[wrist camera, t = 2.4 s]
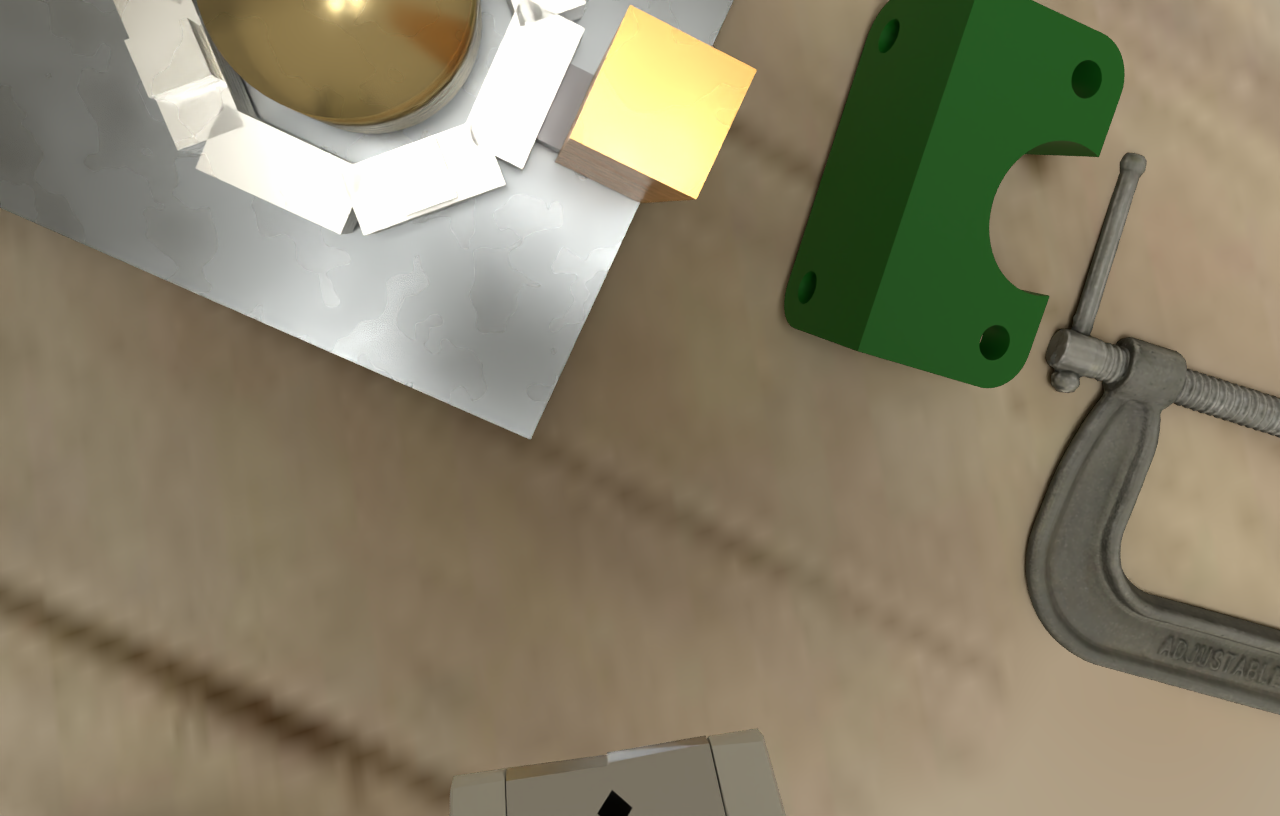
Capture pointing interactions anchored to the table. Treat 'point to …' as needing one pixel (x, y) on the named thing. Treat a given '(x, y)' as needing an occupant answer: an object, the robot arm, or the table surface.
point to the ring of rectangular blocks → (496, 128)
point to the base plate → (353, 129)
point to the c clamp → (1106, 494)
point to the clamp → (944, 180)
